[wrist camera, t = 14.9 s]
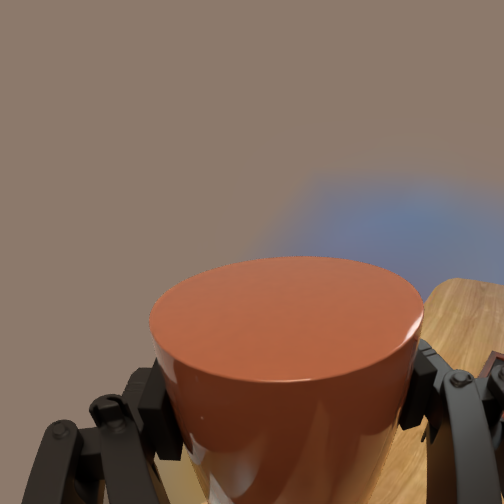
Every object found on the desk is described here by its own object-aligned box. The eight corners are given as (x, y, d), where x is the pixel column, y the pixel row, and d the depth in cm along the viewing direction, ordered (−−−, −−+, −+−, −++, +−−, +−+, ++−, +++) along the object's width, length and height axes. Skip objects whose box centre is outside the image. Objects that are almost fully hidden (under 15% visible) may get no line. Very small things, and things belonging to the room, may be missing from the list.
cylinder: (202, 553, 8) (106, 388, 5) (210, 431, 15) (176, 265, 13) (393, 525, 8) (483, 338, 5) (348, 415, 16) (362, 249, 13)
